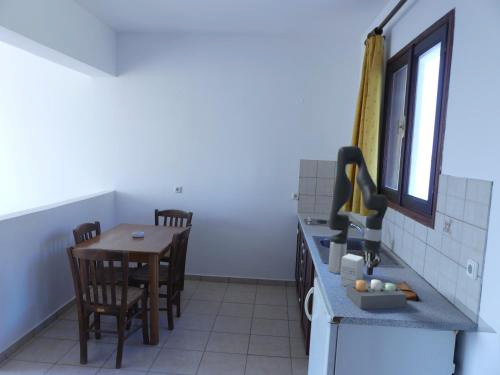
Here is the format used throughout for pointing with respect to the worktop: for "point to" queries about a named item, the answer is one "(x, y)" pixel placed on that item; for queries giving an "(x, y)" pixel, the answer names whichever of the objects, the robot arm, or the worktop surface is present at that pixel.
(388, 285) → the mint green oval piece
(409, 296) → the sunglasses case
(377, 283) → the white egg-shaped piece
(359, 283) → the beige rounded piece
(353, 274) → the supplement box
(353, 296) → the grey holder tray
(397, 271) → the worktop surface
